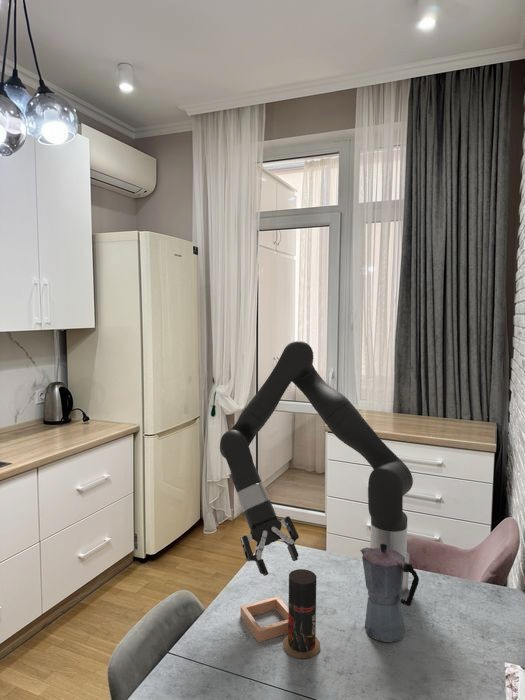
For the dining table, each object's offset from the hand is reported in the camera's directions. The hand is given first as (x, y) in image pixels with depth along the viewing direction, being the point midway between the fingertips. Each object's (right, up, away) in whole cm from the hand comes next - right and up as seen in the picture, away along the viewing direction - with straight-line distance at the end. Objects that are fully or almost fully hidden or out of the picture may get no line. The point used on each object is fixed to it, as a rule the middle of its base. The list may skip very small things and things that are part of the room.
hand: (281, 567), depth 119 cm
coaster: (+4, -10, -15) cm, 18 cm away
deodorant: (+4, -10, -15) cm, 18 cm away
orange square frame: (-3, -10, -7) cm, 12 cm away
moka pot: (+24, -10, -10) cm, 28 cm away
